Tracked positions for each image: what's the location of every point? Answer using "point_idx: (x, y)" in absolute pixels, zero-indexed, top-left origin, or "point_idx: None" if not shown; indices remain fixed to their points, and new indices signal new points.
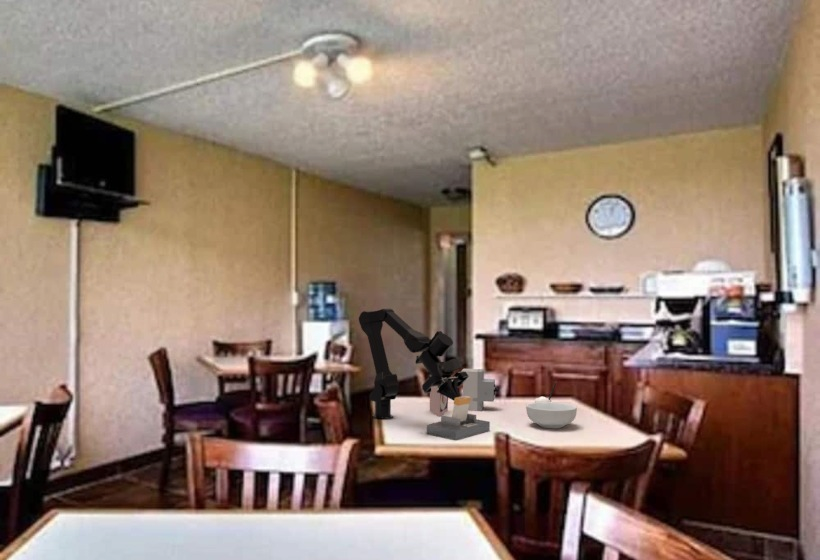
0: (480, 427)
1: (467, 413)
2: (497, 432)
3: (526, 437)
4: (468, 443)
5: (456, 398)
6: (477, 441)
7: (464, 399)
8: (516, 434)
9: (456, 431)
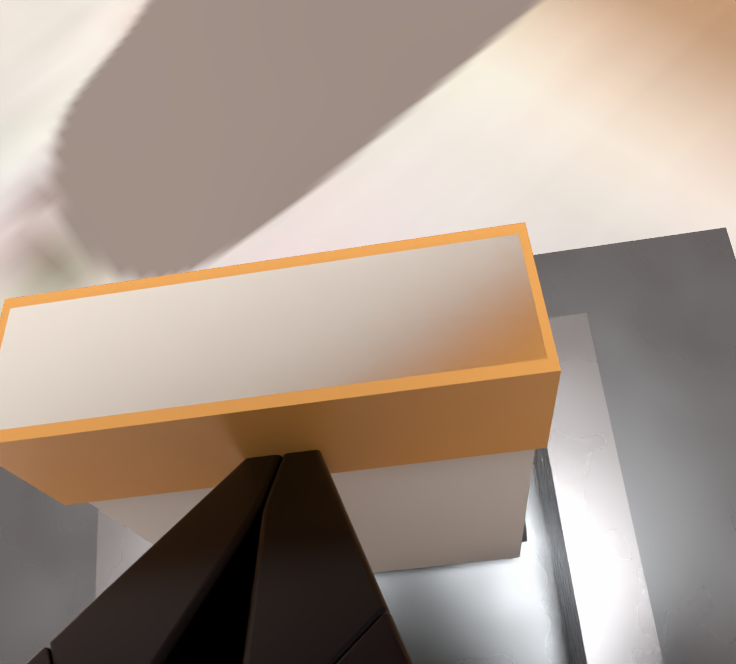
0: None
1: (105, 554)
2: (74, 265)
3: (70, 2)
4: (660, 114)
5: (539, 311)
6: (524, 122)
7: (283, 272)
8: (29, 112)
9: (710, 235)
